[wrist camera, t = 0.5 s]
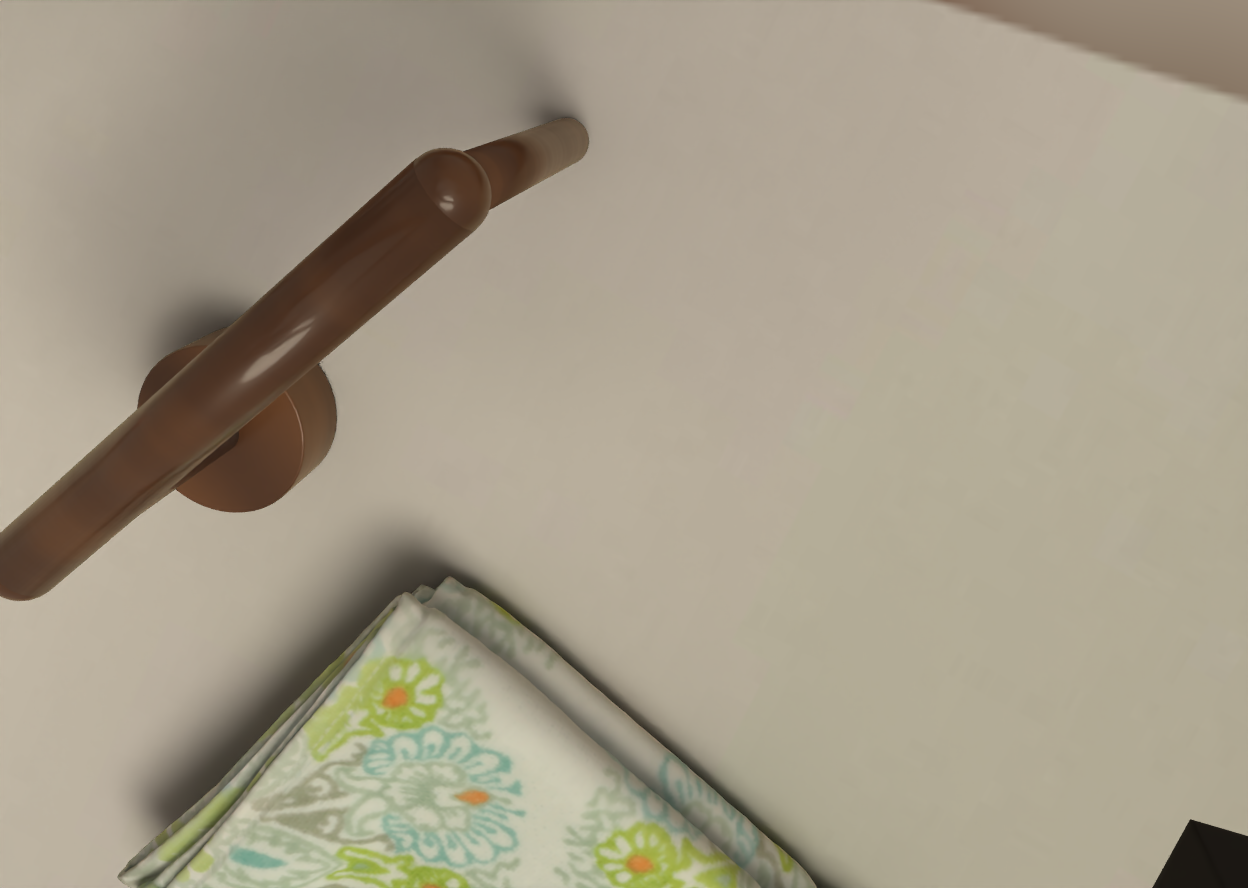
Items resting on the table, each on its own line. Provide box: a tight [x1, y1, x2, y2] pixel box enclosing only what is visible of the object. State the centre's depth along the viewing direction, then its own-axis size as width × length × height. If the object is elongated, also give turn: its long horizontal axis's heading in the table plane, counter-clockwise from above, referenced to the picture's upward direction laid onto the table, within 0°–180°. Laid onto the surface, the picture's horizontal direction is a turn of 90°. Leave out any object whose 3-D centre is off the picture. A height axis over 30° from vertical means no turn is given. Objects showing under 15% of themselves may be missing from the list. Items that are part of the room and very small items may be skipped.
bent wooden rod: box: [0, 118, 589, 601], centre depth 27 cm, size 16×5×12 cm, turn 129°
